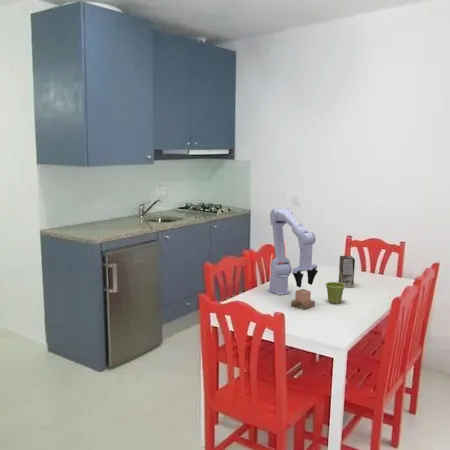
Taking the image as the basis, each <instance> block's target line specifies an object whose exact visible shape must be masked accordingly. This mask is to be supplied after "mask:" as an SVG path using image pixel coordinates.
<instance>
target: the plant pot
mask: <svg viewBox="0 0 450 450" xmlns="http://www.w3.org/2000/svg"><path fill="white" fill-rule="evenodd" d="M325 286H326V291H327V300H328V303H333V304H340V303H341V302H342V298H343V293H344V290H345V288H344V287H345V285H344V284H342V283H339V281H338V282H337V281H329V282H326V283H325Z"/></svg>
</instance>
